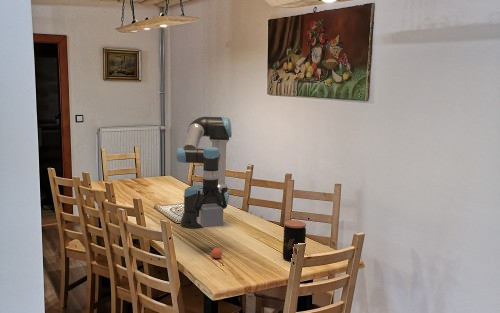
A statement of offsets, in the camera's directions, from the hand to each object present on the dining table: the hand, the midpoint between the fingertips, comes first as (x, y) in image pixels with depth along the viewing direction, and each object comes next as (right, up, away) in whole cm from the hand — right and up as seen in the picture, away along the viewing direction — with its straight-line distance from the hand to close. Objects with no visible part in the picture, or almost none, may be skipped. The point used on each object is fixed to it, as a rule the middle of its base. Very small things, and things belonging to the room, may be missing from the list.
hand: (209, 222), depth 238 cm
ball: (+4, -14, -8) cm, 17 cm away
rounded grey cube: (0, -1, 0) cm, 1 cm away
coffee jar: (+42, -18, -5) cm, 45 cm away
